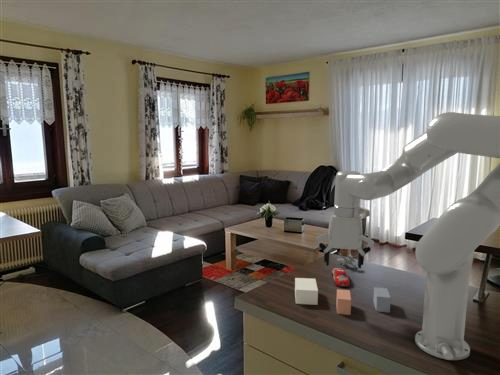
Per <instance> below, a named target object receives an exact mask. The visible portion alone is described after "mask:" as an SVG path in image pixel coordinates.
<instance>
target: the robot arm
mask: <svg viewBox="0 0 500 375" xmlns="http://www.w3.org/2000/svg"><path fill="white" fill-rule="evenodd" d="M457 154H465V155H471V156H481V157H486V158H493V159H500V115H487V114H475V113H473V114H472V113H462V112H457V111H456V112H455V111H447V112H443V113H440V114H438V115H437V116H435V117H434V118H433V119H432V120H431V121H429V124H428V125H427V128H426V131H425V132H423V133H422V134H420V135H419V136H417V137H415V138H414V139H413V140H411V141H410V142H408V143H407V144H405V145H404V146H403V147H402V153H401V155H400V156H399V157H398V158H397V159H396V160H395V161H393V162H392V163H390V164H389V165H387V166H386V167H384V168H383V169H381V170H379V171H374V172H369V173H360V172H359V171H356V170H340V171H337V172H336V175H335V181H334V184H335V185H334V200H333V202H334V203H333V213H331V215H330V218H329V223H328V230H327V231H328V232H327V231H326V232H325V233H323V234H320V235H318V236H316V238H315V240H316V243H317V244H318V247H319V248H320V249H321V250H322V251H323V253H324V257H323V259H324V260H323V262H324V263H326V266H327V267H328V266H329V265H330V251H331V250H332V249H343V250H357V251H358V253H357V255H358V256H357V257H358V258H357V269H362V266H364V259H365V258H364V257H365V256H366V255H367V254H368V253H370V251H371V249H372V248H373V247H374V245H375V241H374V240H372V239H371V238H369V237H367V236H366V235H364V234H363V219H362V216H361V214H365V212H366V211H365V208H362V207H361V200H363V201H373V200H377V199H381V198H383V197H388V196H390V195H391V194H394V193H395V192H397V191H398V190H400V189H402V188H403V187H405V186H407V185H409V184H410V183H412V182H413V181H414V180H416V179H418V178H419V177H421V176H423V174H425V173H426V172H428V171H430V170H431V169H433V168H434V167H436V166H437V165H439V164H441V163H443V162H444V161H446V160H447V159H449V158H452V157H453V156H455V155H457ZM499 227H500V162H498V164H497V165H496V166H495V167H494V168H493V169H492V170H491V171H490V172H489V173H488V174H487V176H486V177H485V178H484V180H483V181H482V182H481V183H480V184H478V186H477V187H476V188H475V189H474V190H473V191H472V192H471V193H470V194H469V195H466V196H465V197H463V198H460V199H459V200H456V201H454V202H453V203H451V205H449V206H448V207H447V208H446V210H444V211H443V213H442V214H441V215H440V216H439V217H438V218H437V220H436V221H434V223H433V224H432V225H431V226H430V228H428V230H427V231H426V232H425V233H424V234H423V236H422V237H421V238H420V239H419V240H418V242H417V244H416V245H415V252H414V253H415V258H416V261H417V264H418V265H419V267H421V268H422V269H423V270H424V271H426V276H425V286H424V287H425V288H424V301H423V316H422V325H421V326H422V327H421V328H422V329H421V330H420V331H417V333H416V334H415V336H414V342H415V344H416V346H418V348H419V349H420V350H422V351H423V352H424V353H427V354H428V355H431V356H432V357H433V356H434V357H435V358H438V359H441V360H442V359H443V360H447V361H460V360H464V359H467V358H468V357H469V356H470V355H471V347H470V345H469V343H467V341H465V330H466V329H465V328H466V318H467V317H466V316H467V308H468V307H467V306H468V305H467V304H468V296H469V289H470V288H469V285H470V280H471V279H470V278H471V272H472V266H473V262H474V256H475V250H476V249H477V248H479V246H480V245H481V244H482V243H483V242H484V241H485V240H487V238H488V237H489V236H491V235H492V234H493V233H495V232H496V231H497V230H498V229H499ZM326 239H327V244H326V245H325V244H324V242H323V240H326ZM363 242H365V243H367V245H366V246H365V247H364V248H363V247H362V246H363Z"/></svg>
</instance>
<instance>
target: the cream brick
mask: <svg viewBox="0 0 500 375" xmlns="http://www.w3.org/2000/svg"><path fill="white" fill-rule="evenodd" d="M294 297H295V298H294V300H295V304H297V305H315V306H317V305H319V304H318V301H319V299H318V298H319V288H318V285H317V280H316V278H306V277H295V278H294Z"/></svg>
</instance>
